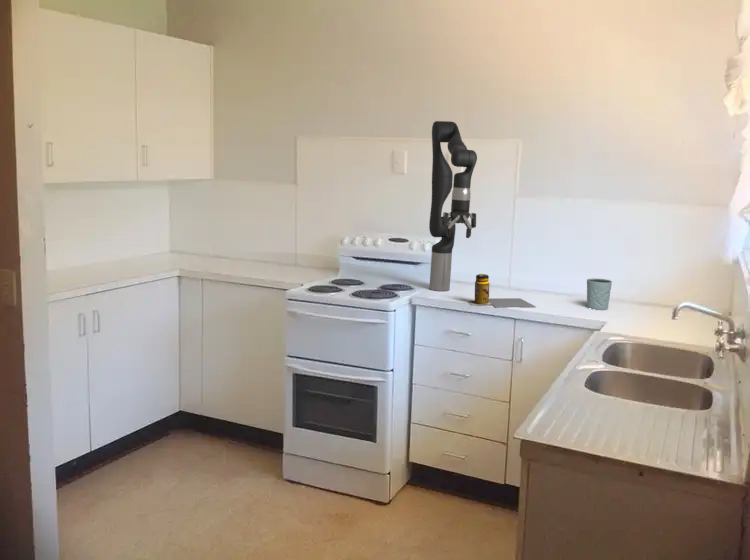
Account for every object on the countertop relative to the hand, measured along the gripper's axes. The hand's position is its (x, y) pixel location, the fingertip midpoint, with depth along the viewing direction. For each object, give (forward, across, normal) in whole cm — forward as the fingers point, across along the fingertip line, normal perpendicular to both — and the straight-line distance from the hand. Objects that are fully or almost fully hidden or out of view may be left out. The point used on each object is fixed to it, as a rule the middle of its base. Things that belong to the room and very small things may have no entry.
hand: (458, 237), depth 315 cm
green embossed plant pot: (+27, -59, +16) cm, 67 cm away
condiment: (+27, -10, +4) cm, 29 cm away
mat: (+27, -23, +4) cm, 36 cm away
